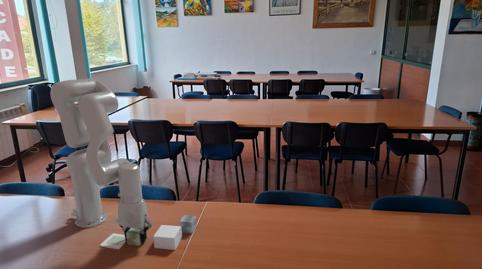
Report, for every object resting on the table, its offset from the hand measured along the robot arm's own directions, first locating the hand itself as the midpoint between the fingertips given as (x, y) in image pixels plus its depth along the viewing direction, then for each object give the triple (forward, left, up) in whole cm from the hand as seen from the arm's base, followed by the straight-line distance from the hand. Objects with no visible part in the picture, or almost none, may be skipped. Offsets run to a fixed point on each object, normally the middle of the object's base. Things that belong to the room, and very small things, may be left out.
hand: (136, 239), depth 125 cm
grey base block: (+13, +2, -1) cm, 13 cm away
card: (-7, -2, -1) cm, 8 cm away
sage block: (0, 0, -1) cm, 1 cm away
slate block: (+17, +12, -1) cm, 20 cm away
